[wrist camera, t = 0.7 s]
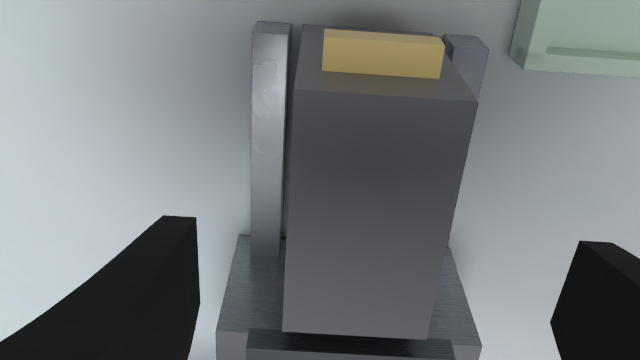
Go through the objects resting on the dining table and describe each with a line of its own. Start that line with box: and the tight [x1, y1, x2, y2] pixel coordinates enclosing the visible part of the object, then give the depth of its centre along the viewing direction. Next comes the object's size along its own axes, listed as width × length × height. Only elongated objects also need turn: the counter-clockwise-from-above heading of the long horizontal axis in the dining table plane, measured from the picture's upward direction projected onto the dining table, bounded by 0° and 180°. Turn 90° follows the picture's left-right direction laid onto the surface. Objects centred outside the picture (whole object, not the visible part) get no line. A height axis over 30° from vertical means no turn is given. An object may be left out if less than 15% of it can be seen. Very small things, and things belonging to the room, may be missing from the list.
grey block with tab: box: [282, 24, 478, 340], centre depth 16 cm, size 4×8×6 cm, turn 176°
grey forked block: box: [216, 21, 489, 360], centre depth 17 cm, size 8×12×6 cm, turn 176°
